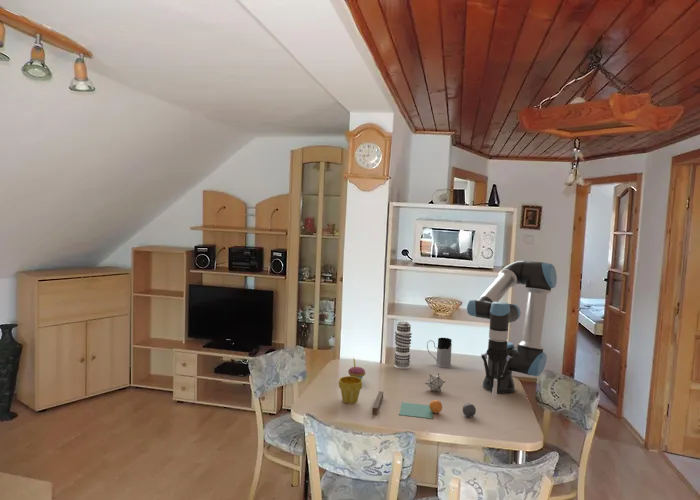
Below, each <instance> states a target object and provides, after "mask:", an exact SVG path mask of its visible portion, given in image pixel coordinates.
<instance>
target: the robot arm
mask: <svg viewBox="0 0 700 500" xmlns="http://www.w3.org/2000/svg"><path fill="white" fill-rule="evenodd" d="M557 276H558V275H557V270H556V267H555V266H554V264H552V263H550V262H549V263H548V262H540V261H529V260H517V261H515V262H511V263H510V264H508V265H506V266H504V267H503V268H502V269H501V270H500V271H499V272H498V273H497V277H496V278H495V279H494V281H493V282H492V283H491V284H490V286H489V287H488V288H487V289H486V290H485V291H484V292H483V293H482V295H480V296H479V298H478V299H473V298H472V299H470V300H469V301H468V302H467V305H466V313H467V315H469V316H470V317H475V318H479V319H487V320H489V331H488V345H487V350H486V351H485V353H482V354H480V357H481V359H482V360H483V365H484V370H485V377H484V378H483V381H482V387H483V389H485V390H486V391H489V392H492V393H491V394H492V397H497V395H498V394H511V393H514V392H515V390H516V389H515V387H516V386H515V381H514V379H513V372H516V373H520V374H522V375H523V374H524V375H528V376H533V377H539V376H541V375H542V373H543V371H544V370H545V367H546V363H547V353H545V352H544V347H543V346H542V344H541V343H542V342H541V341H542V334H543V327H544V320H545V312H546V304H547V297H548V295H549V294H551V291H552V289H554V288H555V287H556V285H557V279H558V277H557ZM516 285H525V290H526V291H527V297H526V305H525V313H524V314H525V315H524V321H523V328H522V336H521V337H522V338H521V341H520V342H518V343H517V347H516V346H515V344H514V343H513V342H511V341H508V339H509V338H508V337H509V324H510V323H514V322H516V321H518V320H519V319H520V317H521V314H522V312H521V309H520V307H519V306H518V305H516V304H515V303H508V302H504V301H501V299H502V298H503V297H504V296H505V295H506V293H507V292H508V291H509V289H511V288H512V287H514V286H516Z"/></svg>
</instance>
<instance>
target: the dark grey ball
mask: <svg viewBox="0 0 700 500" xmlns="http://www.w3.org/2000/svg"><path fill="white" fill-rule="evenodd" d="M476 409H477V408H476V407H475V405H474V404H473V403H469V402H468V403H465V404H464V405H463V406H462V413H463V415H464V416H466V417H467V418H468V417H469V418H472V417H474V416H475V415H476V412H477V410H476Z"/></svg>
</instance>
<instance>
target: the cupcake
mask: <svg viewBox="0 0 700 500" xmlns="http://www.w3.org/2000/svg"><path fill="white" fill-rule="evenodd" d="M352 359H353V360H352V361H353V367H350V368H349V369H348V371H347V373H348V376H354V377H358V378H360V379H362V380H363V378H364V376H365V375H366V370H365V369H364V368H363V367H361V366H356V359H355V358H352Z"/></svg>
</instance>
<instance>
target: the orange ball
mask: <svg viewBox="0 0 700 500" xmlns="http://www.w3.org/2000/svg"><path fill="white" fill-rule="evenodd" d="M428 405H429V408H430V410H431V411H432V412H433V414H439V413H441V411H442V410H443V403H442V402H441V401H440V400H439V399H432V400H431V401H430V402H429V404H428Z"/></svg>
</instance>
